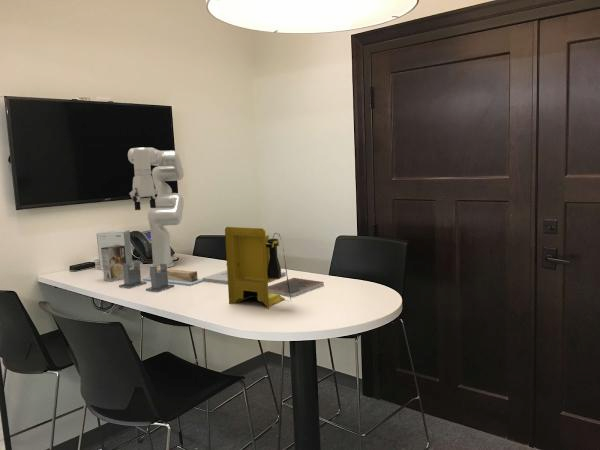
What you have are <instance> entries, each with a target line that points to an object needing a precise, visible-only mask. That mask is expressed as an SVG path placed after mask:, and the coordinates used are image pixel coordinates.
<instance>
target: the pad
mask: <svg viewBox="0 0 600 450" xmlns="http://www.w3.org/2000/svg"><path fill="white" fill-rule="evenodd" d="M197 279H198V280H197V281H194V282H186V281H177V280H168V284H170V285H178V286H179V285H180V286H189V287H191V285H192V286H194V284H195V285H198V284H201V283H203V280H202V278H198V277H197ZM145 280H146V281H145ZM142 281H145V282H151V278H150V276H147V277H143V278H142Z"/></svg>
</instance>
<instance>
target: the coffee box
mask: <svg viewBox="0 0 600 450" xmlns="http://www.w3.org/2000/svg"><path fill="white" fill-rule="evenodd" d="M101 252H102V262H103V269H102V271H103V280H104V281H106V280H108V282H115V281H114V280H116V281H119V280H118V279H120V280H124V279H123V278H124V273H123V264H126V255H125V246H122V245H114V246H109V247H103V248H101Z"/></svg>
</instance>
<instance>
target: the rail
mask: <svg viewBox="0 0 600 450" xmlns="http://www.w3.org/2000/svg"><path fill="white" fill-rule="evenodd" d="M157 271H161V269H160V268H157ZM167 275H168V280H177V281H186V282H194V281H197V280H198V279H199V278H198V271H196V270H193V271H192V270H183V269H174V268H173V269H172V268H167ZM149 277H150V278H151V274H150V273H149ZM197 278H198V279H197Z"/></svg>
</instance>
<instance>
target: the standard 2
mask: <svg viewBox="0 0 600 450" xmlns="http://www.w3.org/2000/svg"><path fill="white" fill-rule="evenodd" d="M160 269H161V271H157V267H155V266H151V267H150V266H149V275H150V274H151V281H150V284H151V285H150V287H147V288H145V291H146V292H154V293H159V292H162V290H163V291H165V289H166V290H169V289H172V288H174V287H175V284H170V283H168V275H167V269H168V268H167V264H160Z"/></svg>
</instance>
